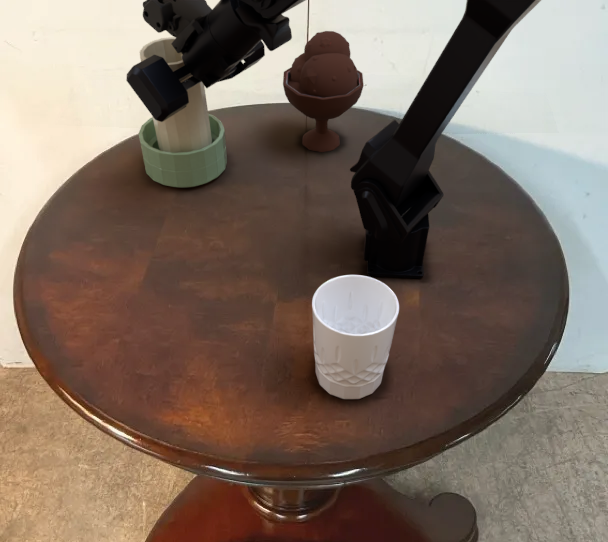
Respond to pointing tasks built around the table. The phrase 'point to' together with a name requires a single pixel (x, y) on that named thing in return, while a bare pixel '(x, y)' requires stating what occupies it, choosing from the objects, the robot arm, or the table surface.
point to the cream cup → (190, 120)
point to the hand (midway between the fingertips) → (169, 96)
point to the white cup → (352, 334)
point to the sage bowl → (184, 158)
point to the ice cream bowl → (323, 86)
